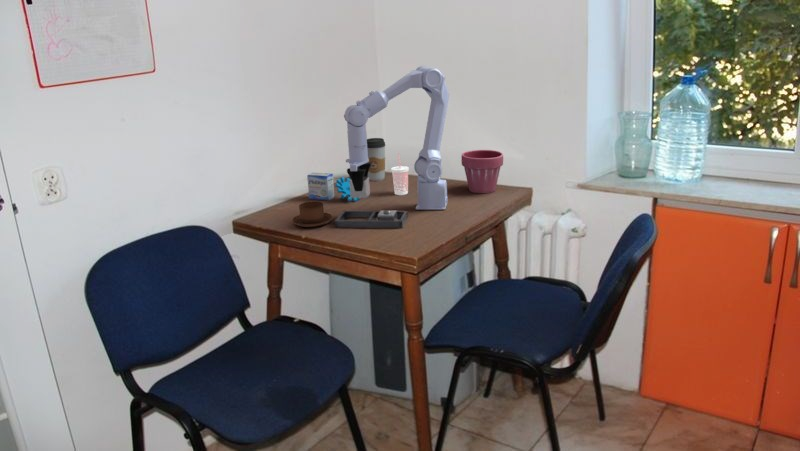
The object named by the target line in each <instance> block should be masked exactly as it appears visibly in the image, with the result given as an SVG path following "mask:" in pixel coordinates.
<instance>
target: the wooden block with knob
mask: <svg viewBox="0 0 800 451" xmlns="http://www.w3.org/2000/svg"><path fill="white" fill-rule="evenodd" d="M379 211H380V212H379V214H378V218H377V221H398V218H397V211H398V210H391V209H389V210H388V209H386V210H382V209H381V210H379Z"/></svg>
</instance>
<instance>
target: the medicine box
mask: <svg viewBox="0 0 800 451" xmlns="http://www.w3.org/2000/svg"><path fill="white" fill-rule="evenodd" d="M306 177H307V187H308V199H310V200H314V201H315V200H316V201H320V200H321V201H330V200H333V199H334V198H335V187H334V173H327V172H326V173H325V172H311V173H308V174H307V176H306Z"/></svg>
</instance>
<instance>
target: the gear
mask: <svg viewBox="0 0 800 451" xmlns="http://www.w3.org/2000/svg"><path fill="white" fill-rule="evenodd" d="M350 179H351V178H350V177H346V178H345V177H343V176H341V178H338V179H337V180H336V184H335V188H338V189H336V191H337V194H338V193H339V194H340V193H342V194H341V196H340V199H341V200H344V199H345V198H346V197H347V199H346V200H347V201H348V202H351V201H352V202H357V201H359V200H361V198H351V195H350V182H349V180H350Z"/></svg>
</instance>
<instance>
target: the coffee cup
mask: <svg viewBox="0 0 800 451" xmlns="http://www.w3.org/2000/svg"><path fill="white" fill-rule="evenodd" d="M367 150H368V159H369V162H370V163H371V166H370V169H369V172H368V176H369V181H372V182H376V181H377V182H379V181H383V180H385V176H386V155H385V154H386V142H385V139H384V138H383V137H382V138H381V137H371V138H367Z"/></svg>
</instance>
